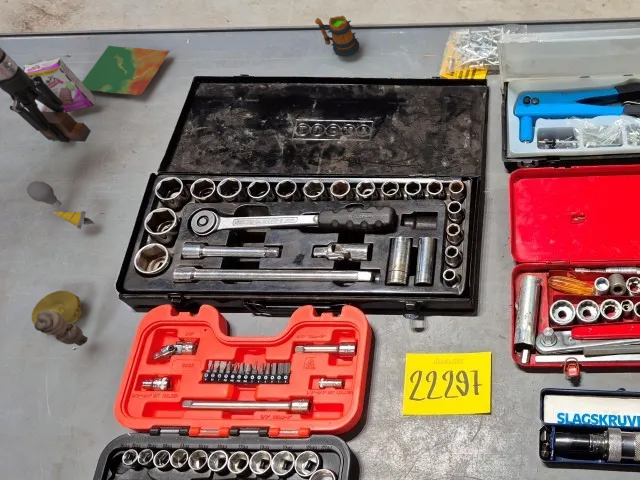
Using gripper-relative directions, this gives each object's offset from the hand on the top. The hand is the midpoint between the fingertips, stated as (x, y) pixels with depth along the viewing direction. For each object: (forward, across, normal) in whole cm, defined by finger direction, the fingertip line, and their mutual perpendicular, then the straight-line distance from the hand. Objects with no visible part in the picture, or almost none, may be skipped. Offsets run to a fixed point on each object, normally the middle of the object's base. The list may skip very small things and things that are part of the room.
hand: (69, 134), depth 167 cm
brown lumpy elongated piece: (+9, -65, -27) cm, 71 cm away
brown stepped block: (0, 0, 0) cm, 0 cm away
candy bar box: (+9, +21, +13) cm, 26 cm away
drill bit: (+9, -28, -10) cm, 31 cm away
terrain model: (+9, +39, +4) cm, 40 cm away
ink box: (+9, +9, +13) cm, 18 cm away
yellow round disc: (+9, -57, -16) cm, 60 cm away
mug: (+8, +54, -73) cm, 92 cm away
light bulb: (+9, -21, +1) cm, 23 cm away
